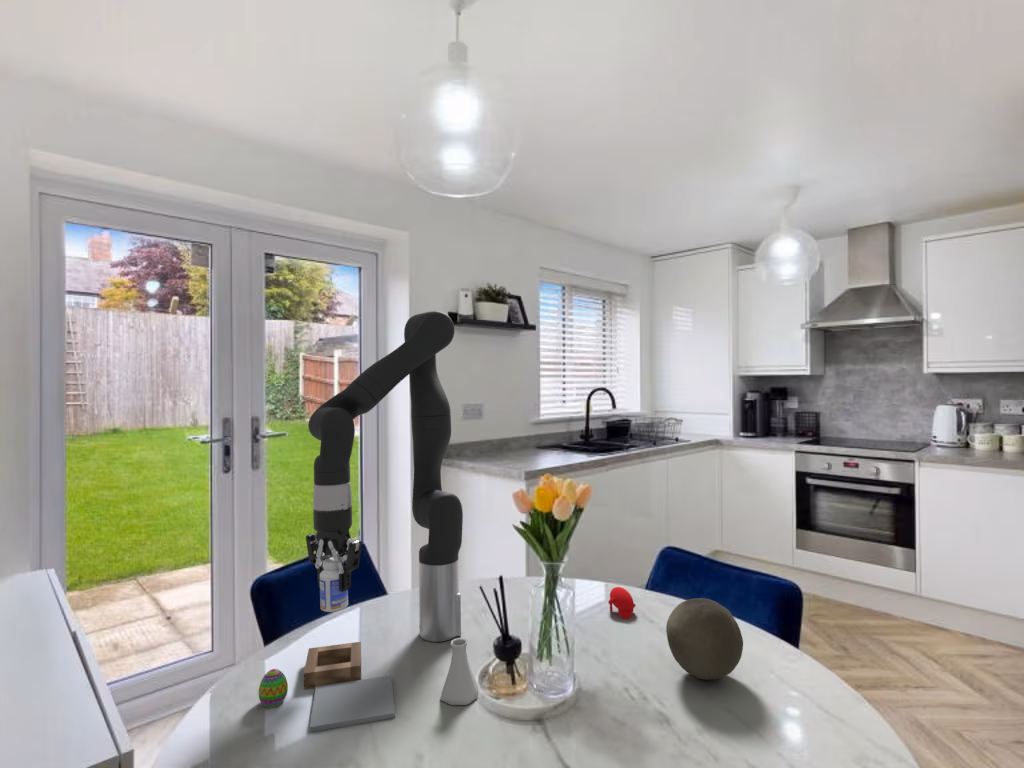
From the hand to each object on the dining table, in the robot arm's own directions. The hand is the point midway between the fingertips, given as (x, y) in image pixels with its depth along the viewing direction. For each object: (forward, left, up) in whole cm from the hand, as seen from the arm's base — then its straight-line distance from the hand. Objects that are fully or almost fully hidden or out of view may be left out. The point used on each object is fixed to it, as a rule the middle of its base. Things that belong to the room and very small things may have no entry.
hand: (334, 587), depth 110 cm
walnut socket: (0, 0, -17) cm, 17 cm away
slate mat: (-4, +13, -17) cm, 22 cm away
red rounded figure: (-69, -9, -17) cm, 72 cm away
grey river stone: (-70, +24, -17) cm, 76 cm away
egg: (+10, +8, -17) cm, 22 cm away
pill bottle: (0, 0, -4) cm, 4 cm away
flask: (-23, +16, -17) cm, 33 cm away
